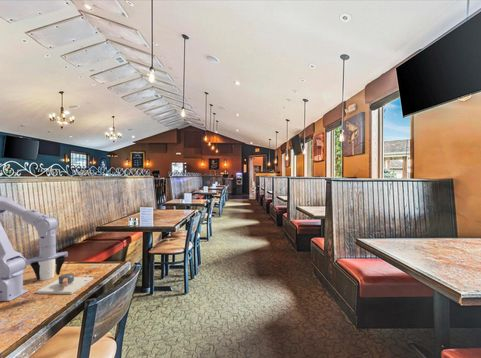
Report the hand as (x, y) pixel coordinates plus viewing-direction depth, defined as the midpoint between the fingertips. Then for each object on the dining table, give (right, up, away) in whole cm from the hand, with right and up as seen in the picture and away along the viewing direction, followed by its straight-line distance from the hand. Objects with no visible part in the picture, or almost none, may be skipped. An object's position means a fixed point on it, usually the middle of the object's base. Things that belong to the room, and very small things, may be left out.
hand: (48, 276), depth 113 cm
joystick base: (+1, -8, +10) cm, 13 cm away
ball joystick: (+2, -6, +8) cm, 11 cm away
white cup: (-16, -8, +20) cm, 27 cm away
